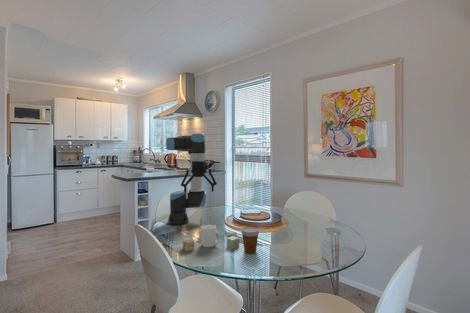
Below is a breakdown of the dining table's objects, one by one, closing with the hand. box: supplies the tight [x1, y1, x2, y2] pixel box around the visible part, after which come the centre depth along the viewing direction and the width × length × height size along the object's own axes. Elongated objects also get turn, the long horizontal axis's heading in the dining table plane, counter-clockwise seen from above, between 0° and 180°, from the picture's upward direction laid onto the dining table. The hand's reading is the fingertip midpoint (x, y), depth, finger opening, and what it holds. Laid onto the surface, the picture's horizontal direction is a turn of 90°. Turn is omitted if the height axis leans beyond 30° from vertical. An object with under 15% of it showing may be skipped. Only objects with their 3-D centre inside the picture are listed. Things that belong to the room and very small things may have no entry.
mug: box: [200, 224, 222, 248], centre depth 156 cm, size 9×12×11 cm
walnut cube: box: [227, 231, 238, 238], centre depth 161 cm, size 5×5×5 cm
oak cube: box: [182, 237, 195, 252], centre depth 151 cm, size 5×5×5 cm
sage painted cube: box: [226, 236, 240, 250], centre depth 154 cm, size 5×5×5 cm
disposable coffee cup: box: [241, 226, 260, 255], centre depth 147 cm, size 10×10×12 cm
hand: (199, 197), depth 154 cm, fingers open, 13 cm apart
